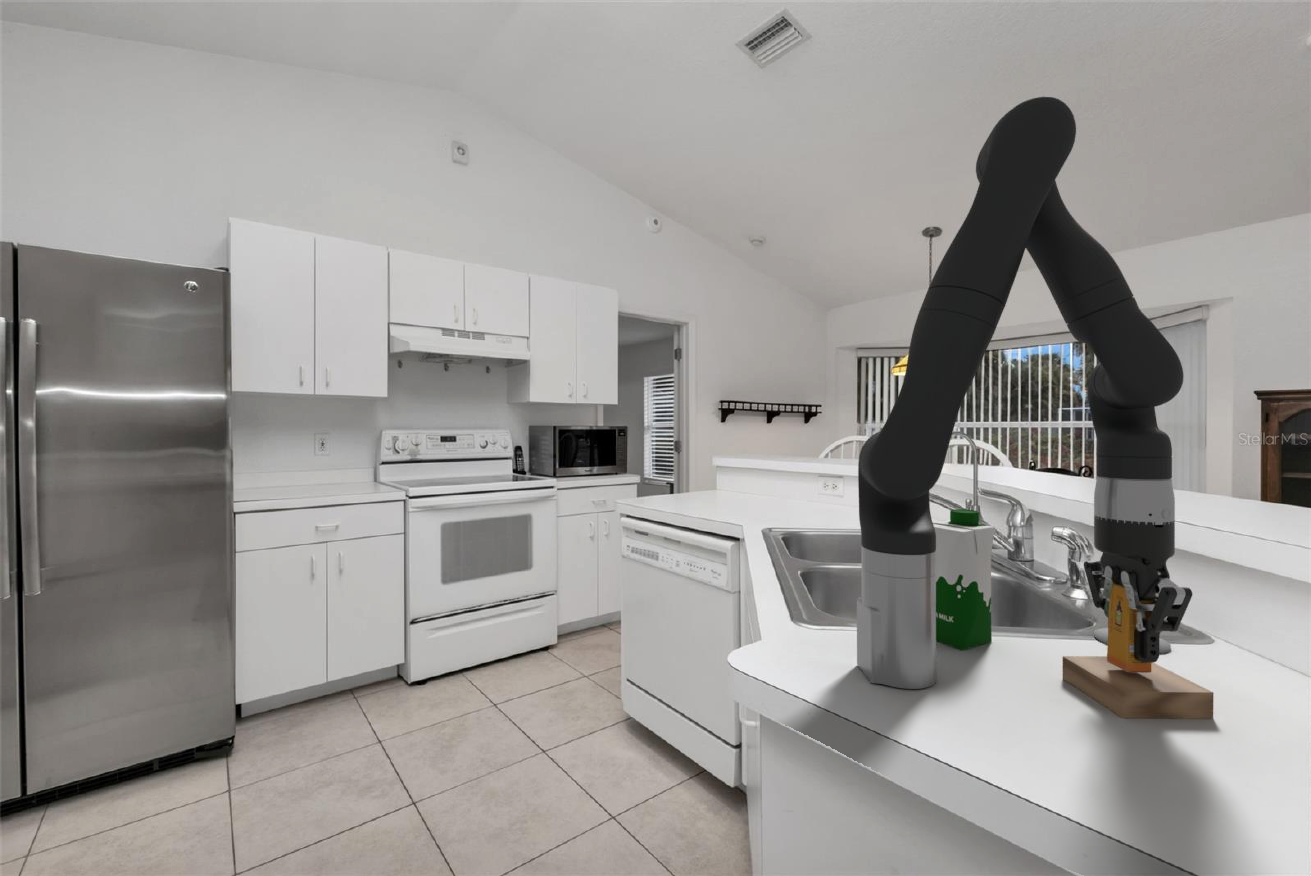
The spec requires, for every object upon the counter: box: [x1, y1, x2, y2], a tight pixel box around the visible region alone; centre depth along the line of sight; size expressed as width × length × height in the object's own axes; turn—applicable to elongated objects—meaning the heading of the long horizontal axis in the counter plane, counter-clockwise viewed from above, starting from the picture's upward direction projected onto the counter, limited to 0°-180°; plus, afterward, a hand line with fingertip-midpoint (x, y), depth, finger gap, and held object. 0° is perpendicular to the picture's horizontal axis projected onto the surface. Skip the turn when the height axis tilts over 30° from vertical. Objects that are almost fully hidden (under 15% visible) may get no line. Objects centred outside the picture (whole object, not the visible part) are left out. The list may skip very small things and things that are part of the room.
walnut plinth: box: [1062, 655, 1214, 720], centre depth 69 cm, size 10×10×3 cm
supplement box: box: [1106, 584, 1153, 673], centre depth 69 cm, size 3×3×10 cm
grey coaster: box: [1093, 627, 1172, 654], centre depth 87 cm, size 9×9×1 cm
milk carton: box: [932, 508, 996, 651], centre depth 88 cm, size 9×9×20 cm
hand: (1132, 653), depth 69 cm, fingers closed on supplement box, 3 cm apart
